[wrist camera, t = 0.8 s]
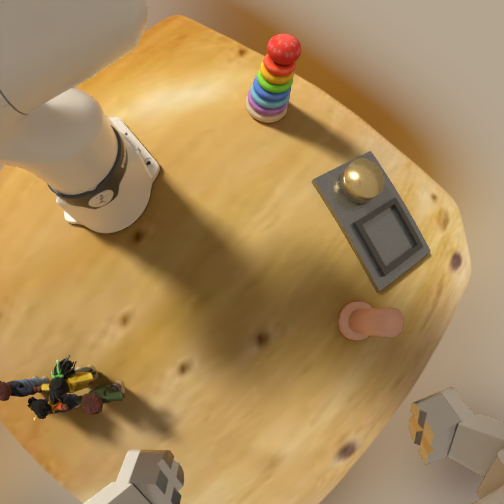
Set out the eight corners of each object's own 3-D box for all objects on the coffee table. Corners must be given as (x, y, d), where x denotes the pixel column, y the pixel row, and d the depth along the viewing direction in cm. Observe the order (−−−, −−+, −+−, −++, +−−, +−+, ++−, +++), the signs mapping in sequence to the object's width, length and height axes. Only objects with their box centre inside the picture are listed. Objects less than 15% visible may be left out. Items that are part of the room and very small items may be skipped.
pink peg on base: (331, 315, 49) (363, 316, 38) (361, 294, 50) (398, 289, 39) (348, 347, 49) (384, 356, 37) (377, 325, 50) (417, 328, 38)
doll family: (37, 419, 40) (-2, 441, 27) (18, 373, 41) (-26, 385, 28) (139, 390, 44) (113, 416, 31) (116, 338, 45) (83, 347, 32)
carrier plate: (311, 181, 53) (320, 170, 48) (368, 153, 55) (379, 141, 50) (376, 291, 51) (390, 289, 46) (426, 252, 53) (442, 247, 48)
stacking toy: (250, 127, 54) (265, 56, 35) (240, 94, 55) (250, 22, 36) (291, 121, 55) (319, 54, 36) (279, 90, 56) (300, 21, 38)
